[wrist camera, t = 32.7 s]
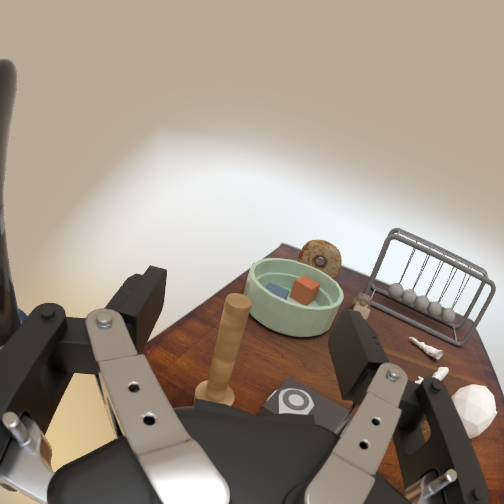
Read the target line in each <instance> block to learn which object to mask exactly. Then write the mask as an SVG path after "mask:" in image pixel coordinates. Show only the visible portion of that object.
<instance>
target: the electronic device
mask: <svg viewBox="0 0 504 504" xmlns="http://www.w3.org/2000/svg"><path fill="white" fill-rule="evenodd" d="M347 412H348V409H346V408H344V407H342V406H340V405H338V404H336V403H335V402H333V401H331V400H329V399H327V398H325V397H323V396H322V395H320V394H318V393H316V392H314V391H313V390H311V389H309V388H307V387H305V386H304V385H302V384H300V383H298V382H297V381H295V380H293V379H292V378H290V377H289V378H288V379H287V380H286V381H285V383H284V384H283V385H282V386H281V387H280V388H279V389H278V390H275V391H274V392H273V393H272V394H271V395H270V396H269V398H268V399H267V402H266V403H265V404H264V405H263V406H262V408H261V410H260V412H259V414H258V415H271V414H281V413H293V414H305V415H314V419H315V424H318V425H320V426H323V427H325V428H327V429H329V430H331V431H332V432H334V431H335V430H336V428H337V427H338V425H339V424H340V422H341V421H342V419H343V418H344V416H345V415H346V413H347Z"/></svg>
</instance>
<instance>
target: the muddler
mask: <svg viewBox="0 0 504 504" xmlns="http://www.w3.org/2000/svg"><path fill="white" fill-rule="evenodd" d="M251 305H252V302H251V300H250V299H249V298H248V297H247V296H245V295H242V294H238V293H232V294H229V295H228V296H227V297H226V300H225V305H224V309H223V313H222V318H221V322H220V327H219V331H218V336H217V340H216V345H215V349H214V354H213V359H212V363H211V368H210V372H209V377H208V380H207V381H204V382H202V383H200V384H199V385H198V386H197V388H196V390H195V396H194V402H193V406H194V404H195V400H196V398H197V399H202V400H207V401H211V402H216V403H222V404H226V405H229V406H232V405H233V402H234V393H233V391H232V389H231V388H230V387H229V386H228V384H229V381H230V377H231V374H232V370H233V367H234V364H235V360H236V357H237V353H238V350H239V346H240V343H241V340H242V336H243V333H244V329H245V326H246V322H247V319H248V315H249V312H250V308H251Z"/></svg>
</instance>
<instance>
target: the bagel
mask: <svg viewBox="0 0 504 504" xmlns="http://www.w3.org/2000/svg"><path fill="white" fill-rule="evenodd" d="M317 257H323V258H324V260H325V263H324V265H322V266H319V265H317V264H316V262H315V259H316V258H317ZM298 262H301V263H304V264H307V265H309V266H312V267H314V268H316V269H319V270H320V271H322V272H324V273H325V274H327V275H329V276H330V277H331V278H332V279H333V280H334V279H335V278H336V277H337V275H338V274H339V272H340V268H341V255H340V252H339V250H338V249H337V248H336V247H335V246H334V245H333V244H331V243H329V242H327V241H324V240H312V241H309V242H308V243H306V244H305V245H304V246H303V248H302V250H301V252H300V254H299V257H298Z"/></svg>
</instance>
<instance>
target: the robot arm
mask: <svg viewBox="0 0 504 504" xmlns="http://www.w3.org/2000/svg"><path fill="white" fill-rule="evenodd" d="M16 91H17V71H16V67H15V65H14V63H13V62H12V61H10V60H9V59H0V485H1V486H2V487H3V488H5V489H7V490H9V491H19V492H20V493H22V494H24V495H26V496H28V497H29V498H31V499H33V500H35V501H37V502H39V503H41V504H487V503H488V499H489V492H488V489H487V485H486V482H485V479H484V476H483V473H482V471H481V468H480V465H479V462H478V460H477V457H476V454H475V452H474V449H473V447H472V444H471V442H470V439H469V437H468V434H467V432H466V430H465V427H464V425H463V423H462V420H461V418H460V416H459V414H458V411H457V409H456V407H455V405H454V403H453V401H452V399H451V396H450V394H449V392H448V390H447V388H446V386H445V385H444V384H443V383H442V382H441V381H440V380H439V379H437V378H435V377H432V376H428V377H425V378H424V379H423V381H422V382H421V383H420V384H418V383H415V382H412V381H408V380H407V375H406V374H405V372H404V371H403V370H402V369H401V368H400V367H398V366H397V365H395V364H392V363H389V361H388V358H387V356H386V354H385V352H384V350H383V348H382V346H381V345H380V342H379V340H378V339H377V338H378V337H377V335H376V333H375V331H374V330H373V329H372V328H371V327H370V326H369V325H368V324H367V323H365V321H364V319H363V317H362V315H361V313H360V312H359V311H355V310H350V309H343V310H342V311H341V313H340V315H339V318H338V320H337V322H336V324H335V326H334V328H333V330H332V332H331V334H330V337H329V342H328V346H329V350H330V354H331V358H332V361H333V365H334V369H335V373H336V376H337V380H338V384H339V388H340V392H341V396H342V400H353V405H352V406H351V407H350V408H349V410H348V412H347V413H346V415H345V416H344V418H343V419H342V421H341V422H340V424H339V425H338V427H337V428H336V430H335V431H334V432H332V431H331V430H329V429H327V428H325V427H323V426H320V425H318V424H315V419H314V415H305V414H293V413H281V414H271V415H253V414H250V413H248V412H245V411H242V410H239V409H237V408H234V407H232V406H229V405H226V404H222V403H216V402H211V401H207V400H202V399H197V398H196V400H195V404H194V406H187V407H178V408H172V406H171V405H170V403H169V401H168V399H167V397H166V396H165V394H164V392H163V390H162V388H161V386H160V385H159V383H158V381H157V379H156V377H155V375H154V373H153V371H152V369H151V367H150V365H149V363H148V361H147V359H146V357H145V356H144V354H142V352H143V350H144V347H145V345H146V343H147V341H148V339H149V337H150V334H151V332H152V330H153V328H154V326H155V323H156V321H157V320H158V318H159V315H160V313H161V311H162V308H163V304H164V297H165V286H166V277H167V270H166V269H162V268H158V267H154V266H149V268H148V269H147V270H146V272H145V273H144V274H143V275H140V274H135V275H133V276H131V277H129V278H127V280H126V281H125V282H124V283H123V286H121V287H120V289H119V290H118V292H117V293H116V294H115V295H114V296H113V298H112V299H111V300H110V302H109V303H108V304H107V306H106V307H105V308H104V309H97V310H94V311H92V312H90V313H89V314H88V315H87V317H86V318H73V317H66V315H65V310H64V309H63V307H61V306H60V305H58V304H55V303H44V304H41V305H39V306H37V307H36V308H35V309H34V310H33V311H32V312H31V313H30V315H29V316H28V317H27V318H26V319H25V320H24V321H23V323H22V320H21V316H20V314H19V310H18V306H17V302H16V297H15V292H14V287H13V283H12V277H11V272H10V265H9V259H8V252H7V243H6V234H5V223H4V205H3V188H4V179H5V171H6V156H7V146H8V138H9V131H10V125H11V120H12V114H13V108H14V104H15V97H16ZM74 373H83V374H94V375H95V378H96V382H97V385H98V387H99V391H100V394H101V396H102V400H103V403H104V405H105V408H106V411H107V414H108V417H109V420H110V423H111V426H112V429H113V431H114V434H115V436H116V439H114V440H113V441H111V442H109V443H107V444H105V445H103V446H102V447H100V448H98V449H96V450H94V451H92V452H90V453H88V454H86V455H84V456H82V457H80V458H78V459H76V460H74V461H72V462H70V463H68V464H66V465H64V466H62V467H61V468H60V469H58V470H57V471H56V472H53V471H52V468H51V457H52V449H51V446H50V444H49V442H48V441H47V439H46V438H45V433H46V431H47V429H48V427H49V424H50V422H51V420H52V418H53V415H54V413H55V411H56V409H57V406H58V405H59V403H60V401H61V398H62V396H63V394H64V392H65V390H66V388H67V386H68V384H69V382H70V380H71V378H72V376H73V374H74ZM426 419H427V422H428V425H429V427H430V437H429V439H428V440H427V442H426V441H425V438H424V435H423V432H422V429H421V426H420V425H421V424H422V423H423V422H424V421H425V420H426ZM392 436H393V440H394V444H395V448H396V452H397V456H398V460H399V464H400V469H401V473H402V477H403V482H404V487H405V492H404V495H402V494H401V493H400V492H399V491H398V490H397V489H395V488H394V487H393V486H392V485H391V484H390V483H389V482H388V481H386V480H385V479H384V478H383V477H382V476H381V475H380V474H379V473H377V472H376V471H377V469H378V467H379V465H380V463H381V461H382V458H383V456H384V454H385V452H386V450H387V447H388V445H389V443H390V440H391V438H392Z"/></svg>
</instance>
